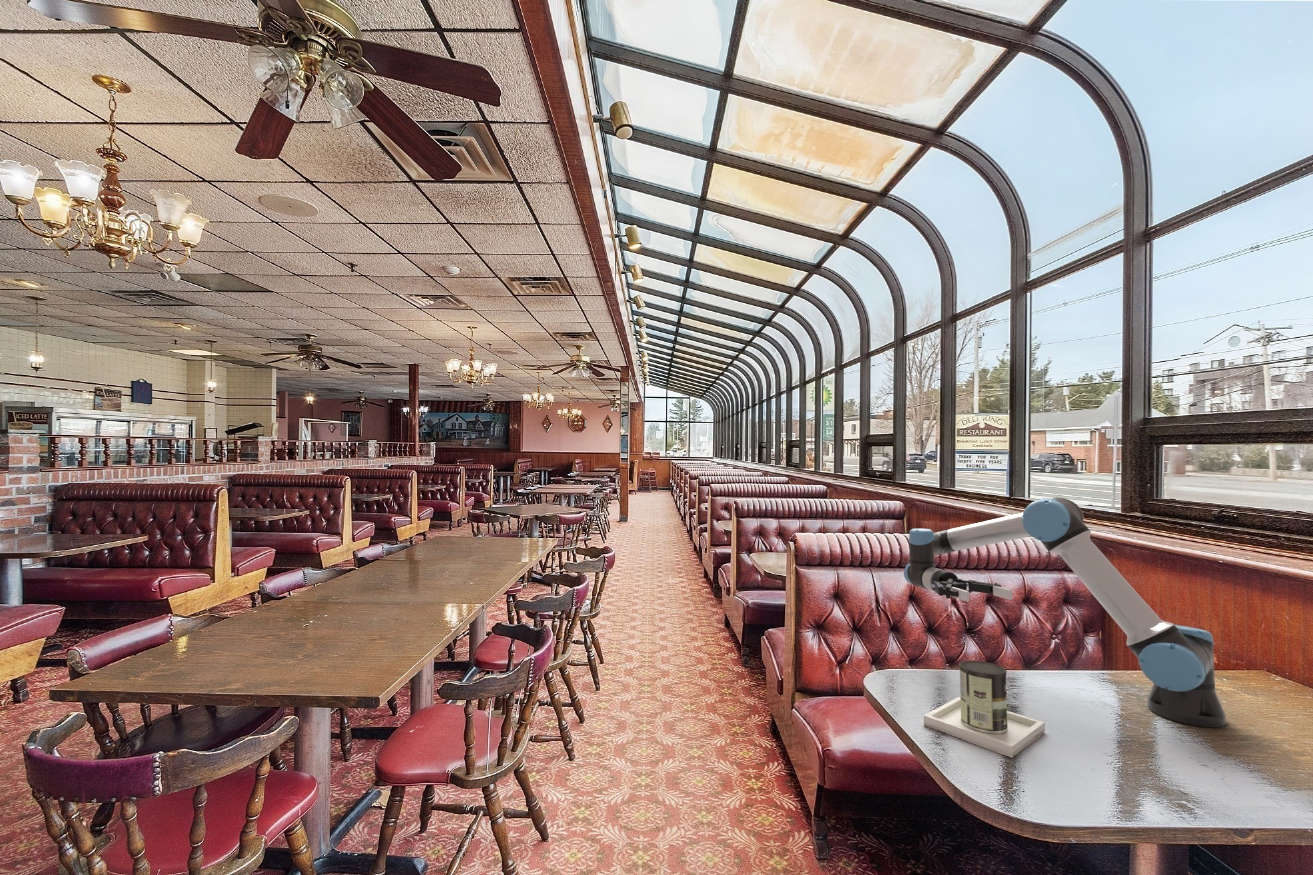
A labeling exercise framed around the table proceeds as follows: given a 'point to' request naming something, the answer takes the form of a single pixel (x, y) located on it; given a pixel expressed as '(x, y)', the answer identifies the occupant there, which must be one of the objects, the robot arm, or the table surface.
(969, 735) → the serving tray
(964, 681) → the coffee can
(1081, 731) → the table surface
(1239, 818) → the table surface
